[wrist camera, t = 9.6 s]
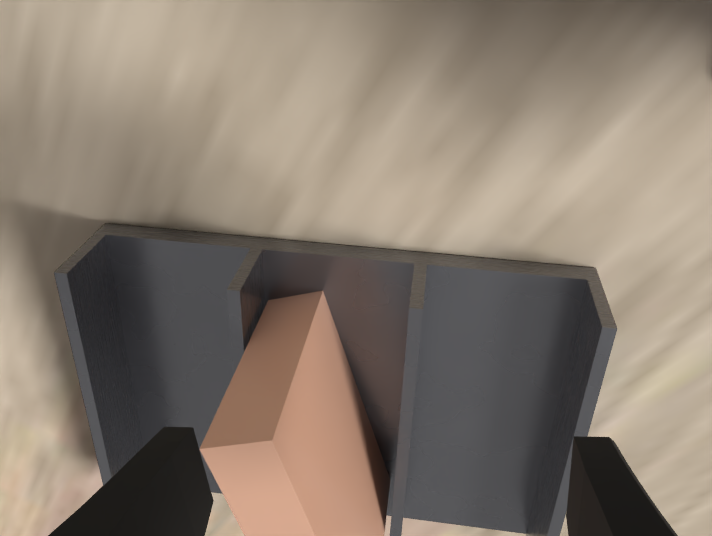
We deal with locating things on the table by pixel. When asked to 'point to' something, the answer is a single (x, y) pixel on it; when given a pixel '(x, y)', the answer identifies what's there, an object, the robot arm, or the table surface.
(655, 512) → the robot arm
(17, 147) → the table surface
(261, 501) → the upright salmon slab
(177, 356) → the rack
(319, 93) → the table surface
